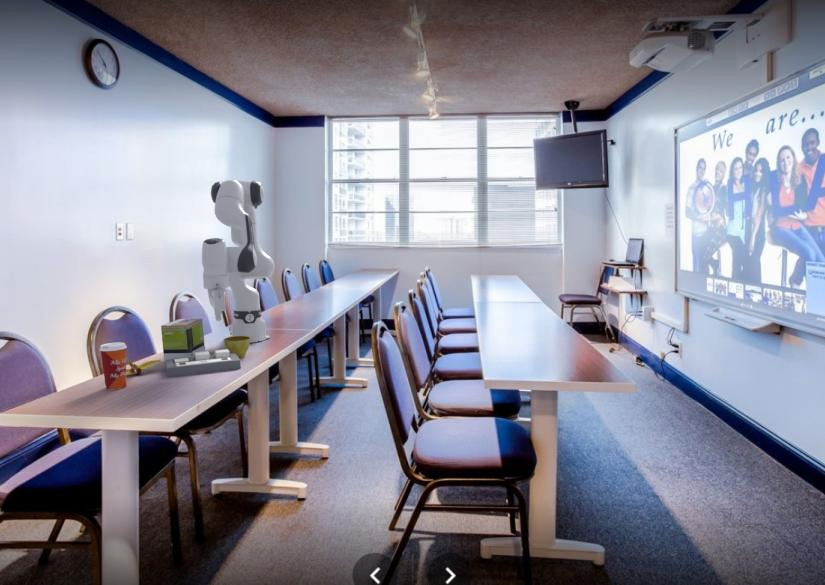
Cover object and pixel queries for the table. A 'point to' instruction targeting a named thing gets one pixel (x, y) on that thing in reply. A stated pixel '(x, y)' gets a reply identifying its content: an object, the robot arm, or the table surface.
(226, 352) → the button
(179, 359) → the button
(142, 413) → the table surface
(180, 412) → the table surface
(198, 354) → the button middle
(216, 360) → the button board
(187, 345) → the tea box
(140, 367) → the origami crane
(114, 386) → the paper cup
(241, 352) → the flower pot
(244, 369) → the table surface
